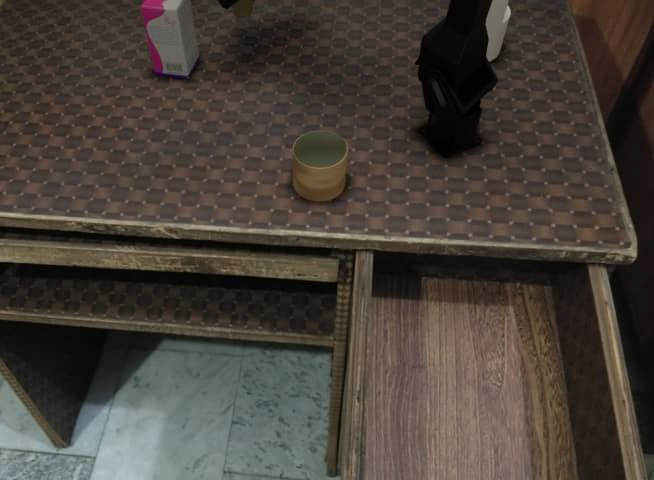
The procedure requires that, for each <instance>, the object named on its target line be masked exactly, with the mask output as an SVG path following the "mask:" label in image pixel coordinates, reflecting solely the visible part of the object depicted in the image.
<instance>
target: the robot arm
mask: <svg viewBox="0 0 654 480" xmlns="http://www.w3.org/2000/svg"><path fill="white" fill-rule="evenodd" d="M239 1H240V0H217V2H218V4H219V5H220V6H221V8H222V9H225V10H229V9H230V8H232V6H233V5H235V4H236V3H238V2H239ZM492 1H493V0H449V4H448V7H447V10H446V14H445V17H444V18H443V19H441V20H440V21H438V23H437V24H435V25H434V26H433V27H432V28H430V29H429V30H428V31H427V32H426V33H425V34H423V36H422V38H421V41H420V46H419V47H420V49H419V55H418V57H417V59H416V61H415V62H414V65H415V66H418V68H417V79H418V81H419V82H420V83H421V89H422V95H423V102H424V107H425V110H426V111H428V112H429V113H428V116H427V123H425V124H421V125H420V126H418V129H417V131H418V132H419V134H420V135H421V136H422V138H424V139H425V141H426V142H428V144H429V145H430V146H431V147H432V149H434V150H435V151H436V152H437V153H438V155H440V157H442V158H446V157H449V156H452V155H455V154H457V153H460V152H462V151H465V150H467V149H470V148H472V147H475V146H477V145H478V146H479V145H480V144H483V139H484V138H483V137H481V135H480V134H479V133H478V131H477V130H478V127H479V124H480V122H481V121H480V120H481V117H482V114H483V110H484V109H483V107H482V106H481V103H482V101H481V100H482V99H483V98H484V97H485V96H486V95H487V94H488V93H490V92H491V91H492V90H493V89H494V87H495V86H496V85H498V83H499V77H498V76H497V74H496V73H495V70H494V68H493V67H492V65H491V63H490V61H488V59H487V57H486V54H487V48H488V42H489V37H488V32H487V28H486V19H487V16H488V13H489V10H490V7H491V4H492Z"/></svg>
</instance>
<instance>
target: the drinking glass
mask: <svg viewBox="0 0 654 480" xmlns="http://www.w3.org/2000/svg"><path fill="white" fill-rule="evenodd" d="M509 1H510V0H493V1H492V4H491V7H490V10H489V13H488V16H487V19H486V28H487V32H488V37H489V42H488V48H487V54H486V57H487V59H488V61H489V62H492V61H493V60H495V59H496V58H497V57H498V56H499V55H500V52H501V49H502V45H503V42H504V39H505V35H506V32H507V28H508V25H509V21H510V18H511V14H512V12H511V7H510V6H509Z"/></svg>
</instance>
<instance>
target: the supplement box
mask: <svg viewBox="0 0 654 480" xmlns="http://www.w3.org/2000/svg"><path fill="white" fill-rule="evenodd" d="M191 3H192V1H191V0H144V1H143V2H142V3H141V5H140V7H139V8H140V11H141V16H142V20H143V25H144V30H145V33H146V34H145V35H146V38H147V43H148V46H149V52H150V56H151V61H152V66H153V70H154V74H155V76H161V77H169V78H177V79H187V80H188V79H189V78H190V77H191V75H192V73H193V71H194V69H195V67H196V66H197V63H198V61H199V60H200V53H199V52H200V51H199V46H198V39H197V34H196V27H195V22H194V21H195V20H194V15H193V9H192V4H191Z"/></svg>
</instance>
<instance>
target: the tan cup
mask: <svg viewBox="0 0 654 480" xmlns="http://www.w3.org/2000/svg"><path fill="white" fill-rule="evenodd" d="M291 149H292V185H293V189H294V190H295V192H296V194H298V195H299V196H300V197H301V198H303V199H305V200H308V201H310V202H327V201H331V200H333V199H335V198H337V197H339V196H340V195H341V194H342V193H343V191H344V190H345V188H346V182H347V181H346V180H347V171H348V170H347V168H348V157H349V156H348V155H349V146H348V143H347V142H346V140H345V139H344V138H343V137H342V136H341V135H340V134H337V133H336V132H333V131H330V130H324V129H323V130H312V131H308V132H305V133H303V134H302V135H300V136H299V137H298V138H296V140H295V141H294V143H293V145H292V148H291Z"/></svg>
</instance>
